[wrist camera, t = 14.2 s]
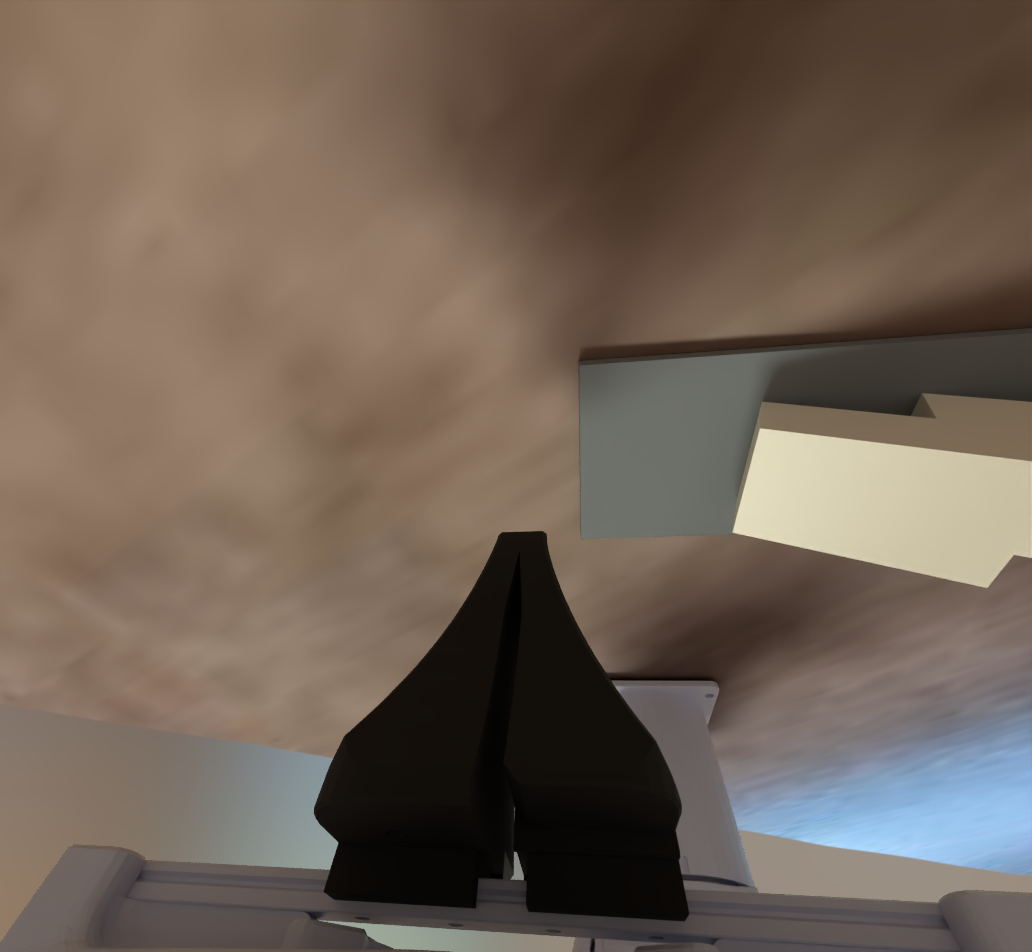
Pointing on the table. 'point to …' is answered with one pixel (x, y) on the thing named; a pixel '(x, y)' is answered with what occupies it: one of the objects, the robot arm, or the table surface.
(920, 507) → the domino
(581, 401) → the mat
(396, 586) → the table surface
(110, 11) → the table surface
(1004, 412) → the domino
